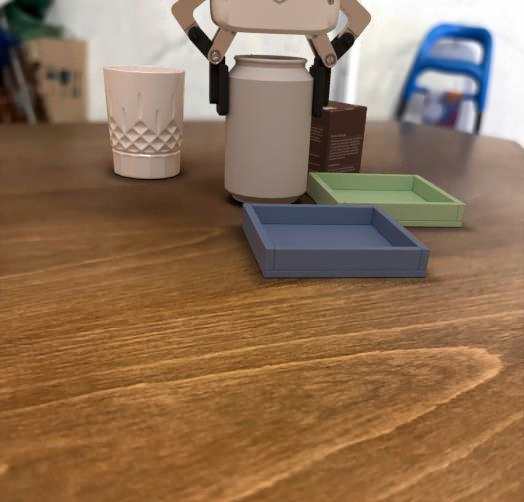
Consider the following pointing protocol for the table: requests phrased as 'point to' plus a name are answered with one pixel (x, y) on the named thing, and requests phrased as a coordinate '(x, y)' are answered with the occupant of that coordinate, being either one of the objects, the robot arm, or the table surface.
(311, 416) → the table surface
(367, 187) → the tray green
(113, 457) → the table surface
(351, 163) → the box
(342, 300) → the table surface
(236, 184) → the can
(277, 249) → the tray blue
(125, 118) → the white cup
